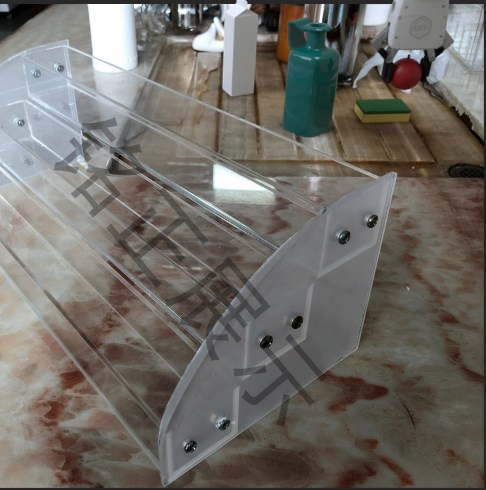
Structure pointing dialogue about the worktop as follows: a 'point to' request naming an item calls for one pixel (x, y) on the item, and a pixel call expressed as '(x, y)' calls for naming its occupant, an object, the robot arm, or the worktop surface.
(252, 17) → the milk
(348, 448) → the worktop surface
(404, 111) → the sponge
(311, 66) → the pitcher
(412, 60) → the apple
